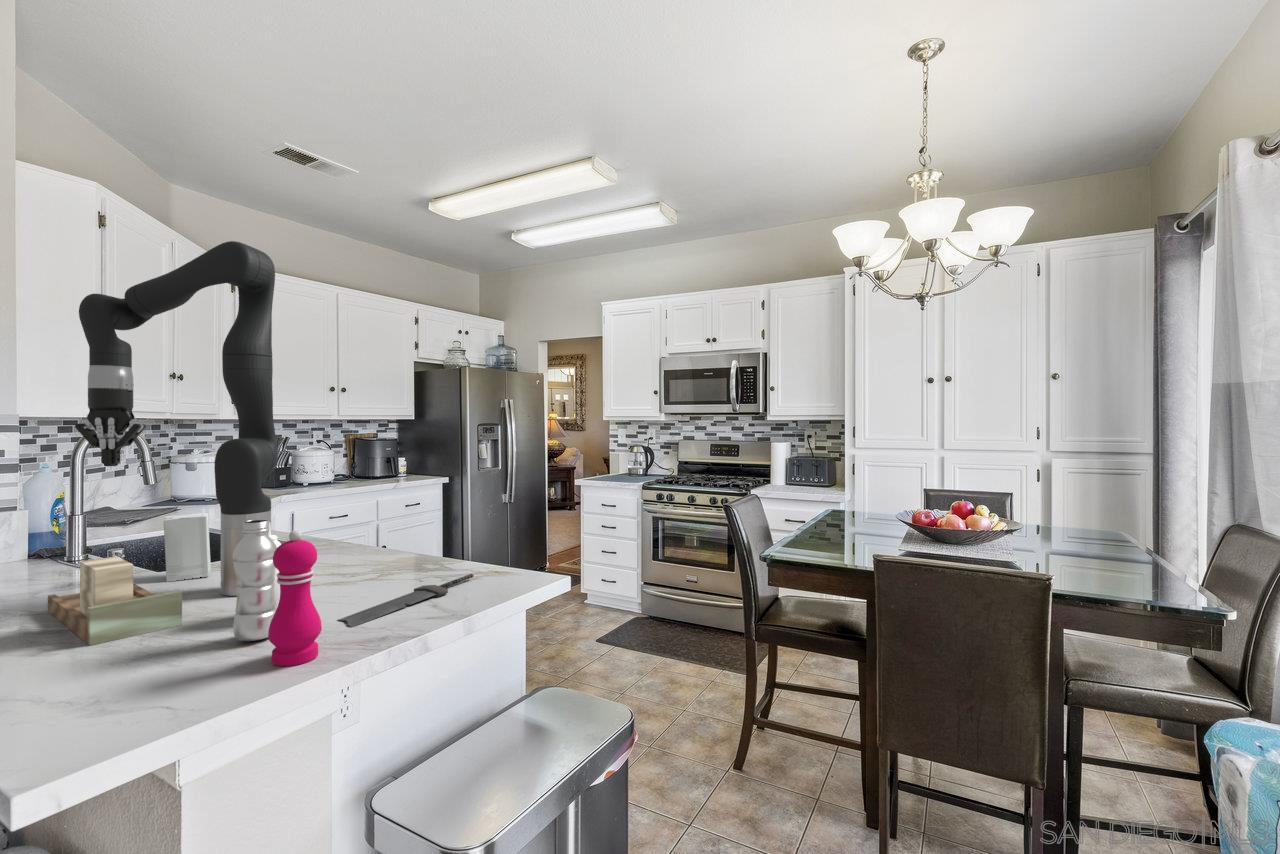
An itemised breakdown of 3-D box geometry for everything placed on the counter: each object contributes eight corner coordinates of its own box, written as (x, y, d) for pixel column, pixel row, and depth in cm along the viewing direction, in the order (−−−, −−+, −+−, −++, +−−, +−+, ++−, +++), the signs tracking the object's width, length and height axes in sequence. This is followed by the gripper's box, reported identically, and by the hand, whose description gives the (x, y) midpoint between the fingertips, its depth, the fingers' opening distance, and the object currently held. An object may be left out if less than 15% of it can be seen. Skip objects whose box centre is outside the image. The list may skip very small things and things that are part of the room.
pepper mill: (282, 650, 96) (282, 526, 96) (329, 649, 97) (329, 526, 97) (258, 668, 89) (258, 534, 89) (308, 667, 90) (308, 534, 90)
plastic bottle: (288, 634, 103) (288, 519, 103) (251, 648, 97) (251, 525, 97) (260, 630, 106) (260, 517, 105) (222, 643, 99) (222, 523, 99)
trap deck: (47, 610, 116) (47, 580, 116) (130, 595, 126) (130, 567, 126) (90, 645, 98) (90, 609, 98) (182, 625, 108) (182, 591, 108)
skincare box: (210, 572, 146) (210, 511, 146) (208, 578, 141) (208, 515, 141) (167, 577, 142) (167, 514, 141) (163, 582, 136) (163, 517, 136)
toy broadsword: (326, 628, 110) (326, 617, 110) (460, 578, 142) (460, 569, 142) (354, 633, 107) (353, 622, 107) (484, 581, 139) (484, 572, 138)
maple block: (80, 614, 106) (80, 561, 106) (116, 607, 110) (116, 556, 110) (95, 626, 100) (95, 570, 100) (133, 618, 104) (133, 564, 104)
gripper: (63, 386, 127) (63, 467, 127) (133, 386, 129) (133, 467, 129) (89, 388, 134) (89, 465, 134) (155, 388, 136) (155, 464, 136)
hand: (111, 466), depth 131 cm, fingers closed
